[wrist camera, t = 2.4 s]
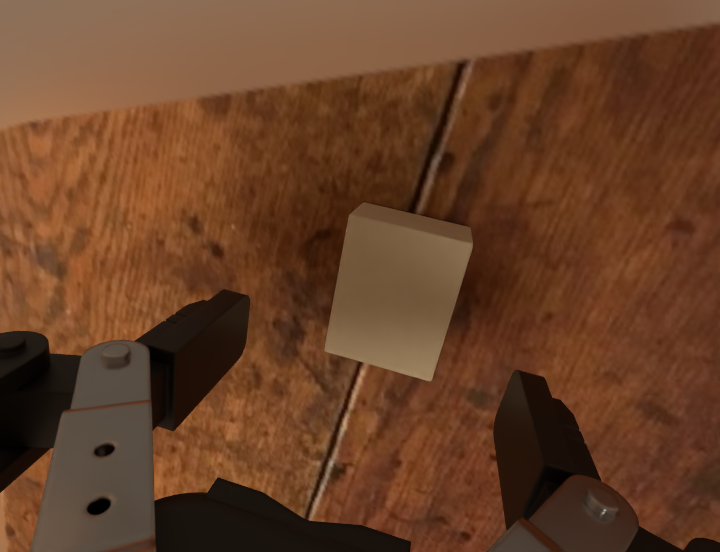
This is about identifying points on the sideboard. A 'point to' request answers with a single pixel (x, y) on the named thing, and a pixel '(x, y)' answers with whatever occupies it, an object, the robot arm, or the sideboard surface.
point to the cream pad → (397, 289)
